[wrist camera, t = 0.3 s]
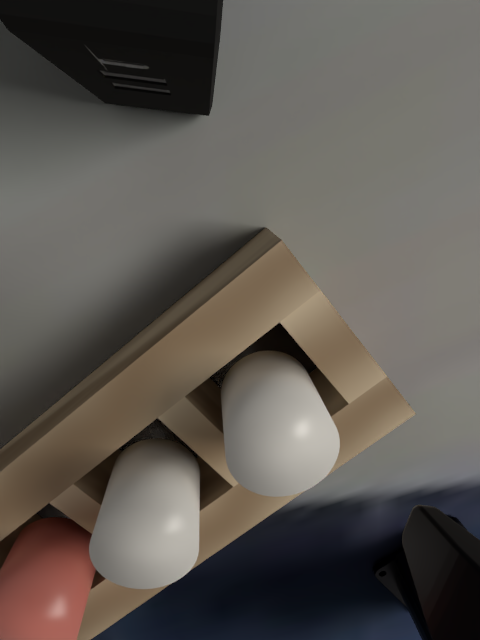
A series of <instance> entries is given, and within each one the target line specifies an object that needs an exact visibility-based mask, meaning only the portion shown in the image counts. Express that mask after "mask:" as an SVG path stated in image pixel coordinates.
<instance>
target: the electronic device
mask: <svg viewBox="0 0 480 640" xmlns="http://www.w3.org/2000/svg"><path fill="white" fill-rule="evenodd" d="M222 7H223V0H0V19H1V21H2V22H3V23H4V25H5V26H6V28H7V29H8V30H9V31H10V32H12V33H13V34H14V35H16V36H17V37H18V38H20V39H21V40H22V41H23V42H25V43H26V44H27V45H29V46H30V47H31V48H33V49H34V50H35V51H37V52H38V53H39V54H41V55H42V56H43V57H45V58H46V59H47V60H49V61H50V62H51V63H53V64H54V65H55V66H57V67H58V68H59V69H61V70H62V71H63V72H65V73H66V74H67V75H69V76H70V77H71V78H73V79H74V80H75V81H77V82H78V83H79V84H81V85H82V86H83V87H85V88H86V89H87V90H89V91H90V92H91V93H93V94H94V95H95V96H97V97H98V98H99V99H101V100H102V101H103V102H105V103H109V104H117V105H125V106H133V107H142V108H150V109H158V110H166V111H174V112H183V113H191V114H199V115H207V116H209V114H210V110H211V107H212V102H213V93H214V85H215V76H216V67H217V59H218V50H219V42H220V32H221V20H222Z"/></svg>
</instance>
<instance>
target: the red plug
mask: <svg viewBox="0 0 480 640" xmlns="http://www.w3.org/2000/svg"><path fill="white" fill-rule="evenodd" d="M91 537H92V534H91V533H90V532H89V531H87V530H86V529H84V528H83V527H82V526H80V525H79V524H78V523H76V522H75V521H73V520H72V519H69V518H62V517H50V518H44V519H40V520H37V521H34V522H32V523H30V524H29V525H27V526H26V527H25V528H24V529H23V530H22V531H21V532H20V533H19V535H18V537H17V539H16V541H15V543H14V544H13V546H12V548H11V550H10V552H9V554H8V556H7V558H6V560H5V562H4V564H3V566H2V568H1V570H0V640H77V636H78V633H79V629H80V626H81V622H82V618H83V615H84V611H85V607H86V604H87V600H88V596H89V593H90V589H91V586H92V582H93V578H94V575H95V571H96V568H95V567H94V566H93V564H92V562H91V559H90V555H89V544H90V540H91Z"/></svg>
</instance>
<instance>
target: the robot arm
mask: <svg viewBox="0 0 480 640" xmlns="http://www.w3.org/2000/svg"><path fill="white" fill-rule="evenodd" d="M402 544H403V547H402V548H401V549H399V550H398V551H396V552H395V553H393V554H391V555H390V556H388V557H387V558H385V559H384V560H382V561H380V562H379V563H377V564H376V565H375V566H374V567H373V572H374V574H375V576H376V578H377V579H378V580H379V581H380V582H381V583H382V584H383V585H384V586H385V587H386V588H387V589H388V590H389V591H391V592H392V593H393V594H394V595H395V596H396V597H397V598H398V599H399V600H400V601H401V602H402V603H403V604H404V605H405V606H406V607H407V609H408V611H409V613H410V615H411V617H412V619H413V621H414V623H415V625H416V628H417V630H418V632H419V634H420V636H421V638H422V640H480V540H479V539H477V538H476V537H475V536H473V535H472V534H471V533H469V532H468V531H467V529H466V528H465V527H464V526H463V525H462V523H461V522H460V521H459V520H458V519H457V518H455V517H450V518H449V517H448V516H447V515H445V514H444V513H443V512H441V511H440V510H439V509H437V508H435V507H432V506H425V505H416V506H415V507H414V508H413V509H412V511H411V514H410V516H409V519H408V521H407V524H406V526H405V528H404V531H403V534H402Z"/></svg>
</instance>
